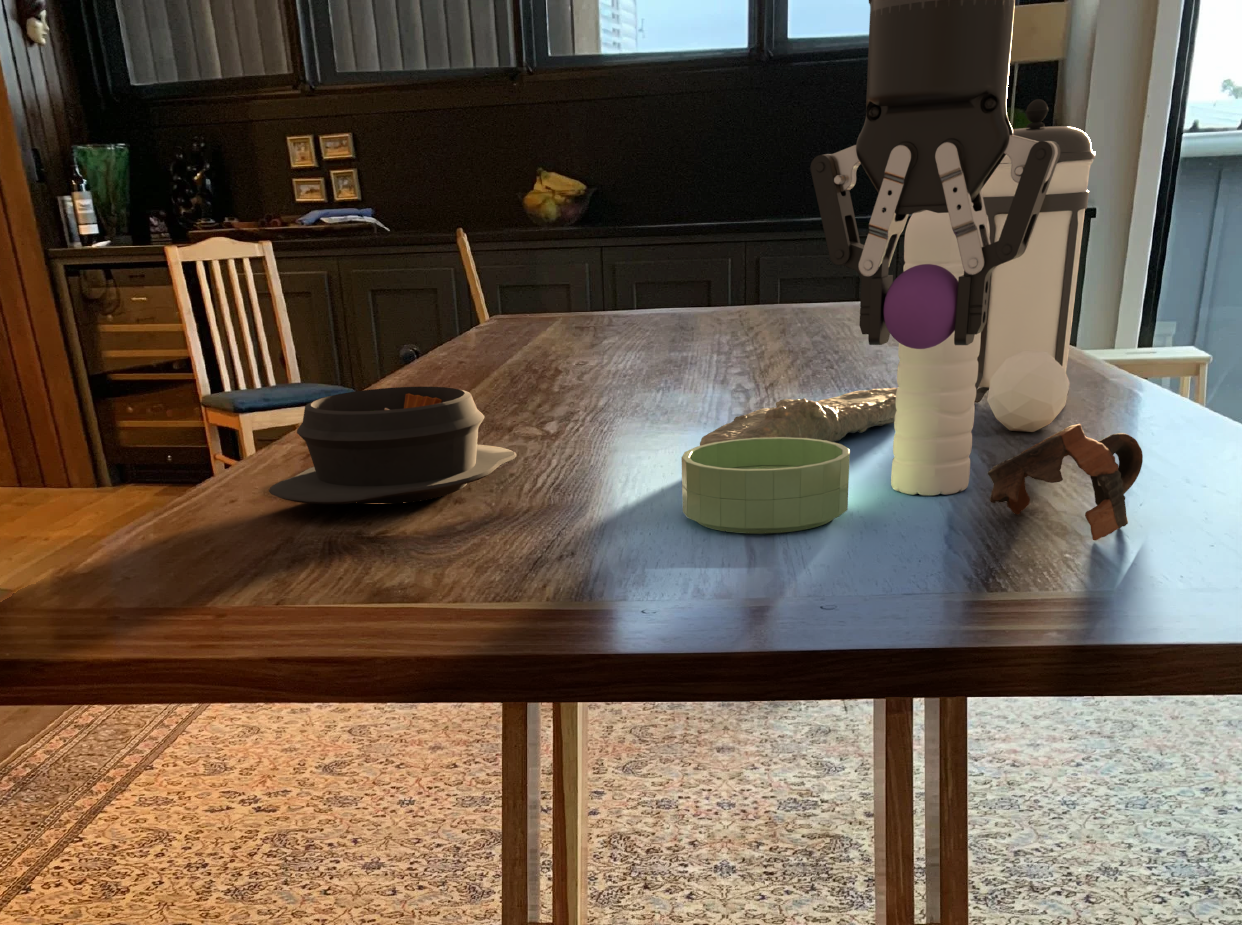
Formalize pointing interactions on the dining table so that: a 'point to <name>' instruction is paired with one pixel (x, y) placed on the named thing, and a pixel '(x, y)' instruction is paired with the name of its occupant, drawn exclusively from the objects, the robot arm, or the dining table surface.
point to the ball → (921, 306)
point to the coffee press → (1036, 255)
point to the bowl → (765, 484)
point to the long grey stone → (813, 418)
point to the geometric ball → (1028, 391)
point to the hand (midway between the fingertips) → (920, 341)
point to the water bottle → (935, 381)
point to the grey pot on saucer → (391, 447)
